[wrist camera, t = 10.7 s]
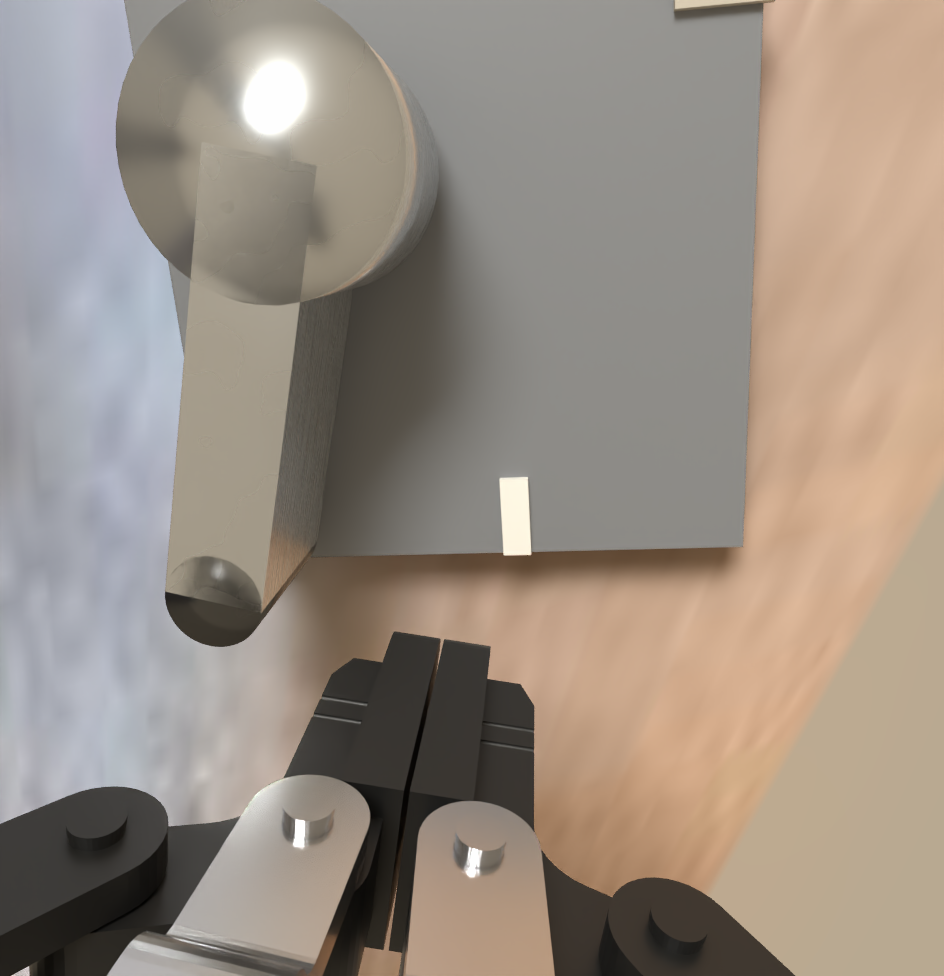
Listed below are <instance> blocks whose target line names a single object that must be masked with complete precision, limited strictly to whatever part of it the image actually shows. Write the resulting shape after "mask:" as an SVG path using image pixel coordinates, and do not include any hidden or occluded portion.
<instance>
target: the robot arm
mask: <svg viewBox="0 0 944 976" xmlns="http://www.w3.org/2000/svg"><path fill="white" fill-rule="evenodd" d="M490 648H491V646H484V645H478V644H472V643H465V642H459V641H453V640H446V639H444V643H443V647H442V652H441V656H440V660H439V665H438V658H439V651H440V639H439V638H433V637H426V636H420V635H413V634H407V633H401V632H394V633H393V635H392V638H391V640H390V643H389V646H388V649H387V651H386V654H385V657H384V660H383V663H382V662H376V661H369V660H363V659H357V658H353V659H352V660H351V661H349V662H348V663H347V664H345V665H344V666H342V667H341V668H340V669H338V670H337V671H335V672H334V673H333V674H332V675H331V677H330V679H329V682H328V684H327V686H326V688H325V690H324V692H323V694H322V699H320V701H319V703H318V705H317V707H316V710H315V712H314V716H313V717H312V718H311V720H310V722H309V725H308V727H307V729H306V731H305V733H304V735H303V738H302V740H301V742H300V744H299V746H298V748H297V750H296V753H295V755H294V757H293V759H292V761H291V763H290V766H289V768H288V770H287V772H286V774H285V776H284V779H281V780H278V781H276V782H274V783H271V784H269V785H268V786H266V787H265V788H263V789H262V790H260V791H259V792H258V793H257V794H256V795H255V796H254V797H253V799H252V800H251V801H250V802H249V804H248V806H247V807H246V809H245V810H244V812H243V814H242V815H241V816H239V817H236V818H234V819H230V820H226V821H221V822H214V823H206V824H194V825H182V826H169V827H168V816H167V813H166V810H165V808H164V807H163V806H162V804H161V803H160V802H159V801H158V800H157V799H156V798H154V797H153V796H151V795H149V794H148V793H145V792H143V791H140V790H137V789H132V788H127V787H101V788H94V789H89V790H85V791H81V792H78V793H75V794H73V795H70V796H67V797H65V798H62V799H60V800H58V801H55V802H53V803H50V804H48V805H45V806H43V807H40V808H38V809H36V810H33V811H31V812H28V813H26V814H23V815H21V816H19V817H16V818H14V819H11V820H9V821H6V822H4V823H2V824H0V976H11V975H13V974H15V973H17V972H18V971H20V970H22V969H24V968H26V967H28V966H29V970H30V976H358V972H359V968H360V964H361V960H362V955H363V951H364V947H369V948H375V949H381V950H383V949H384V944H385V940H386V935H387V930H388V926H389V921H390V916H391V912H392V907H393V902H394V898H395V893H396V900H395V908H394V915H393V923H392V930H391V938H390V946H389V951H395V952H401V953H402V956H401V963H400V970H399V976H795V975H794V974H793V973H792V972H790V970H789V969H788V968H786V967H785V966H784V965H783V964H782V963H781V962H780V961H779V960H777V958H776V957H775V956H773V955H772V954H771V953H770V952H769V951H768V950H767V949H766V948H765V947H764V946H763V945H762V944H761V943H760V942H758V941H757V940H756V939H755V938H754V937H753V936H752V935H751V934H750V933H749V932H748V931H747V930H745V929H744V928H743V927H742V926H741V925H740V924H739V923H738V922H737V921H736V920H735V919H733V917H731V916H730V915H729V914H728V913H727V912H726V911H725V910H724V909H723V908H722V907H721V906H720V905H718V904H717V903H716V902H715V901H714V900H712V899H711V898H710V897H708V896H707V895H705V894H704V893H702V892H700V891H698V890H697V889H695V888H693V887H691V886H688V885H686V884H683V883H680V882H677V881H673V880H669V879H663V878H643V879H637V880H634V881H631V882H629V883H627V884H625V885H624V886H622V887H621V888H620V889H619V890H618V891H617V892H616V893H615V894H614V896H613V898H612V897H610V896H607V895H605V894H603V893H601V892H598V891H596V890H594V889H592V888H589V887H587V886H585V885H583V884H581V883H579V882H577V881H575V880H573V879H572V878H570V877H569V876H567V875H566V874H564V873H563V872H562V871H560V870H559V869H558V868H557V867H556V866H554V865H553V863H552V862H551V861H550V860H549V859H548V858H547V857H546V855H545V854H544V853H543V851H542V850H541V847H540V843H539V840H538V838H537V836H536V834H535V833H534V753H533V752H534V705H533V703H532V702H531V700H530V699H529V697H528V696H527V694H526V692H525V691H524V689H523V688H522V686H521V684H515V683H509V682H503V681H496V680H490V679H487V676H488V667H489V658H490ZM437 666H438V669H437ZM436 673H437V674H436ZM397 883H398V885H397ZM396 888H397V892H396Z"/></svg>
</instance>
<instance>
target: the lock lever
mask: <svg viewBox="0 0 944 976" xmlns="http://www.w3.org/2000/svg"><path fill="white" fill-rule="evenodd" d="M116 148H117V156H118V164H119V169H120V173H121V177H122V181H123V185H124V188H125V191H126V194H127V197H128V199H129V202H130V205H131V207H132V209H133V211H134V213H135V215H136V217H137V219H138V221H139V223H140V225H141V226H142V228H143V229H144V231H145V232H146V234H147V236H148V237H149V239H150V240H151V241H152V243H153V244H154V245H155V246H156V248H157V249H158V250H159V251H160V252H161V254H162V255H163V256H164V257H165V258H166V259H167V260H168V261H169V262H170V263H171V264H172V265H173V266H174V267H175V268H176V269H177V270H179V271H180V272H181V273H183V274H184V275H185V276H187V277H188V278H189V279H191V280H190V292H189V305H188V317H187V329H186V342H185V354H184V366H183V379H182V391H181V403H180V415H179V428H178V440H177V452H176V465H175V477H174V489H173V502H172V514H171V526H170V539H169V551H168V563H167V576H166V588H165V600H166V605H167V609H168V612H169V614H170V616H171V618H172V620H173V621H174V623H175V624H176V625H177V626H178V628H179V629H180V630H181V631H182V632H184V633H185V634H186V635H187V636H189V637H190V638H192V639H193V640H195V641H197V642H200V643H202V644H205V645H209V646H215V647H225V646H231V645H235V644H238V643H240V642H242V641H244V640H245V639H246V638H248V637H249V636H250V635H251V634H252V633H253V632H254V630H255V629H256V628H257V626H258V625H259V624H260V622H261V621H262V620H263V618H264V617H265V616H266V615H267V613H268V612H269V611H270V609H271V608H272V607H273V605H274V604H275V603H276V601H277V600H278V599H279V597H280V596H281V595H282V593H283V592H284V591H285V589H286V588H287V587H288V586H289V584H290V583H291V582H292V580H293V579H294V578H295V576H296V575H297V574H298V572H299V571H300V570H301V568H302V567H303V566H304V564H305V563H306V562H307V560H308V559H309V558H310V556H311V555H312V554H313V552H314V550H315V547H316V544H317V538H318V531H319V524H320V517H321V510H322V503H323V496H324V489H325V482H326V475H327V469H328V462H329V455H330V448H331V441H332V434H333V427H334V420H335V413H336V406H337V399H338V392H339V385H340V378H341V371H342V364H343V358H344V351H345V344H346V337H347V330H348V323H349V316H350V309H351V302H352V295H353V289H354V288H357V287H361V286H365V285H367V284H369V283H372V282H374V281H376V280H378V279H380V278H382V277H383V276H385V275H386V274H388V273H390V272H391V271H392V270H394V269H395V268H396V267H397V266H398V265H400V264H401V263H402V262H403V261H404V260H405V259H406V258H407V257H408V255H409V254H410V253H411V252H412V251H413V249H414V248H415V247H416V245H417V244H418V242H419V241H420V240H421V238H422V236H423V234H424V232H425V230H426V228H427V226H428V224H429V221H430V218H431V216H432V213H433V210H434V206H435V201H436V197H437V190H438V181H439V168H438V156H437V149H436V144H435V140H434V136H433V132H432V129H431V126H430V124H429V121H428V119H427V116H426V114H425V112H424V110H423V108H422V106H421V105H420V103H419V101H418V99H417V98H416V96H415V95H414V94H413V92H412V91H411V90H410V88H409V87H408V85H407V84H406V83H405V82H404V81H403V80H402V79H401V78H400V77H399V76H398V75H397V74H396V73H395V72H394V71H393V70H392V68H391V67H390V66H389V65H388V64H387V63H386V62H385V61H384V60H383V59H382V58H381V57H380V56H379V55H378V54H377V53H376V52H375V51H374V50H373V49H372V47H371V46H370V45H369V44H368V43H367V42H366V41H365V40H364V39H363V38H362V37H361V36H360V35H359V34H358V33H357V32H356V31H355V30H354V29H353V28H352V26H351V25H349V24H348V23H347V22H346V21H345V20H343V19H342V18H341V17H340V16H339V15H337V14H336V13H335V12H334V11H332V10H331V9H329V8H327V7H326V6H324V5H322V4H321V3H319V2H318V1H316V0H188V1H186V2H184V3H182V4H181V5H179V6H178V7H177V8H175V9H174V10H173V11H172V12H170V13H169V14H168V15H166V16H165V17H164V18H163V19H162V20H161V21H160V22H159V23H158V24H157V25H156V26H155V27H154V28H153V29H152V30H151V32H150V33H149V35H148V36H147V37H146V39H145V40H144V41H143V43H142V44H141V46H140V47H139V49H138V51H137V53H136V55H135V56H134V58H133V60H132V62H131V64H130V66H129V69H128V72H127V74H126V77H125V80H124V82H123V86H122V90H121V94H120V98H119V103H118V110H117V120H116Z"/></svg>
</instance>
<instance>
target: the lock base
mask: <svg viewBox="0 0 944 976" xmlns="http://www.w3.org/2000/svg"><path fill="white" fill-rule="evenodd" d="M186 1H188V0H124V3H125V9H126V15H127V20H128V26H129V32H130V38H131V44H132V50H133V56H135V55H136V53H137V51H138V49H139V47H140V46H141V44H142V43H143V41H144V40H145V39H146V37H147V36H148V35H149V33H150V32H151V30H152V29H153V28H154V27H155V26H156V25H157V24H158V23H159V22H160V21H161V20H162V19H163V18H164V17H165V16H166V15H168V14H169V13H170V12H172V11H173V10H174V9H175V8H177V7H178V6H179V5H181V4H182V3H184V2H186ZM316 1H318V2H319V3H321V4H322V5H324V6H326V7H327V8H329V9H331V10H332V11H334V12H335V13H336V14H337V15H339V16H340V17H341V18H342V19H343V20H345V21H346V22H347V23H348V24H349V25H351V26H352V28H353V29H354V30H355V31H356V32H357V33H358V34H359V35H360V36H361V37H362V38H363V39H364V40H365V41H366V42H367V43H368V44H369V45H370V46H371V47H372V49H373V50H374V51H375V52H376V53H377V54H378V55H379V56H380V57H381V58H382V59H383V60H384V61H385V62H386V63H387V64H388V65H389V66H390V67H391V68H392V70H393V71H394V72H395V73H396V74H397V75H398V76H399V77H400V78H401V79H402V80H403V81H404V82H405V83H406V84H407V85H408V87H409V88H410V90H411V91H412V92H413V94H414V95H415V96H416V98H417V99H418V101H419V103H420V105H421V106H422V108H423V110H424V112H425V114H426V116H427V119H428V121H429V124H430V126H431V129H432V132H433V136H434V140H435V144H436V149H437V156H438V168H439V181H438V190H437V197H436V201H435V206H434V210H433V213H432V216H431V218H430V221H429V224H428V226H427V228H426V230H425V232H424V234H423V236H422V238H421V240H420V241H419V242H418V244H417V245H416V247H415V248H414V249H413V251H412V252H411V253H410V254H409V255H408V257H407V258H406V259H405V260H404V261H403V262H402V263H401V264H400V265H398V266H397V267H396V268H395V269H394V270H392V271H391V272H390V273H388V274H386V275H385V276H383V277H382V278H380V279H378V280H376V281H374V282H372V283H369V284H367V285H365V286H361V287H357V288H354V289H353V295H352V302H351V309H350V316H349V323H348V330H347V337H346V344H345V351H344V358H343V364H342V371H341V378H340V385H339V392H338V399H337V406H336V413H335V420H334V427H333V434H332V441H331V448H330V455H329V462H328V469H327V475H326V482H325V489H324V496H323V503H322V510H321V517H320V524H319V531H318V538H317V544H316V547H315V550H314V552H313V554H312V555H311V556H310V557H342V556H383V555H425V554H466V553H504V556H505V555H531V552H549V551H590V550H632V549H673V548H715V547H743V531H744V505H745V478H746V451H747V425H748V398H749V371H750V344H751V318H752V291H753V264H754V238H755V211H756V184H757V158H758V131H759V104H760V77H761V51H762V24H763V3H768V2H774V1H775V0H316ZM168 263H169V269H170V275H171V281H172V287H173V293H174V299H175V305H176V311H177V317H178V323H179V329H180V334H181V340H182V346H183V352H184V354H185V342H186V329H187V317H188V305H189V292H190V280H191V279H189V278H188V277H187V276H185V275H184V274H183V273H181V272H180V271H179V270H177V269H176V268H175V267H174V266H173V265H172V264H171V263H170V262H169V261H168Z"/></svg>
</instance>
